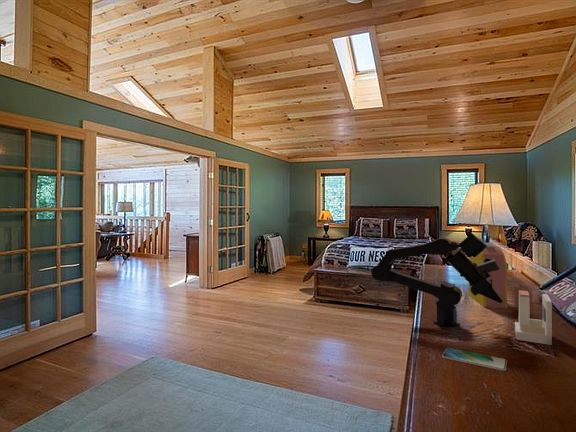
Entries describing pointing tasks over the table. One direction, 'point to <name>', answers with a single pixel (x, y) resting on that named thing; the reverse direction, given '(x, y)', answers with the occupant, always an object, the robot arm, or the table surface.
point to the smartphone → (475, 359)
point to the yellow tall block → (493, 276)
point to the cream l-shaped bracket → (538, 326)
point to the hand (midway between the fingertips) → (501, 302)
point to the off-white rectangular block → (524, 308)
